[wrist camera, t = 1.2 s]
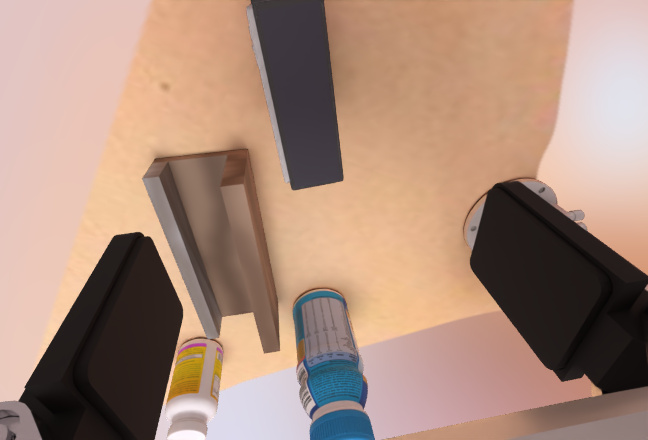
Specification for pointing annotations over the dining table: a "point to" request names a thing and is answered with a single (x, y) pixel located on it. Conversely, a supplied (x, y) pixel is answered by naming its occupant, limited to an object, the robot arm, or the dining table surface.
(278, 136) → the calculator
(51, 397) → the robot arm
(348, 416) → the beverage bottle
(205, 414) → the supplement bottle
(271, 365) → the dining table surface
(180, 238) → the wooden channel stand
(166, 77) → the dining table surface
